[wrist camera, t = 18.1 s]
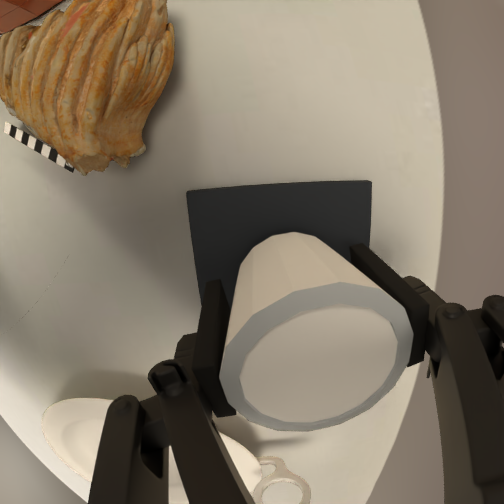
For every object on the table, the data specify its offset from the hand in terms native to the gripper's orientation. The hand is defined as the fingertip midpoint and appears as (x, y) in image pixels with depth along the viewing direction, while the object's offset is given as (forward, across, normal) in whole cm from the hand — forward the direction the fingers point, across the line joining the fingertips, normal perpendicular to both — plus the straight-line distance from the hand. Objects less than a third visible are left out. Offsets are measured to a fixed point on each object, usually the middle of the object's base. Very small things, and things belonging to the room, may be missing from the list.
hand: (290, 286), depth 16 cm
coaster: (+2, 0, 0) cm, 2 cm away
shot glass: (0, 0, 0) cm, 0 cm away
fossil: (+2, -9, +13) cm, 16 cm away
